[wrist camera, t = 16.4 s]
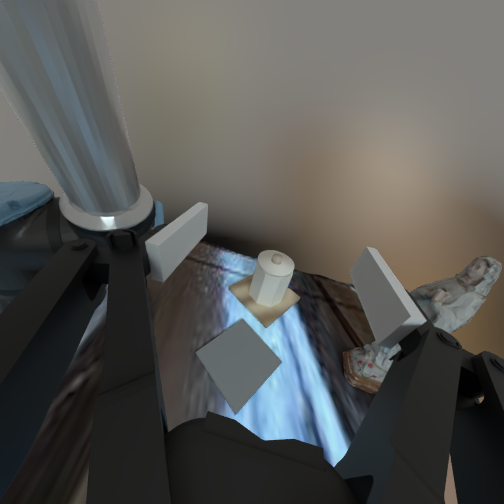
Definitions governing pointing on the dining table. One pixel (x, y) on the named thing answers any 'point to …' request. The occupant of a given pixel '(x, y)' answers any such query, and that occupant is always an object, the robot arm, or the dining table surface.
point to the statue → (438, 311)
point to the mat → (238, 363)
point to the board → (261, 311)
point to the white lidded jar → (271, 277)
